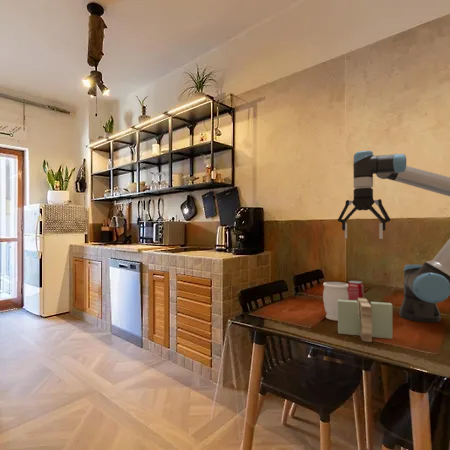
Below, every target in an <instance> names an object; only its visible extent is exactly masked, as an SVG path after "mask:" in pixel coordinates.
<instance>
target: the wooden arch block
mask: <svg viewBox="0 0 450 450" xmlns="http://www.w3.org/2000/svg"><path fill="white" fill-rule="evenodd" d="M357 302H358V317H360V320H361V336H360V339H361V341H362V342H367V343H372V342H373V341H372V340H373V337H372V307H371V305H370V303H369V300H368V299H367V298H366V297H364V298H358V297H357Z"/></svg>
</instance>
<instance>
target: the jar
mask: <svg viewBox="0 0 450 450" xmlns="http://www.w3.org/2000/svg"><path fill="white" fill-rule="evenodd" d="M322 285H323V286H322V287H323V291H322V299H323V307H324V311H325V313H326V314H325V318H326V319H328V320H331V321H337V322H338V299H340V300H349V296H348V283H346V282H341V281H325V282H323V284H322Z"/></svg>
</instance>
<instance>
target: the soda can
mask: <svg viewBox="0 0 450 450" xmlns="http://www.w3.org/2000/svg"><path fill="white" fill-rule="evenodd" d="M347 284H348V288H347V290H348V296H349V300H355V301H357V297H358V298H365V291H364V290H365V288H364V284H363V281H361V280H360V281H359V280H349V281H348V283H347Z"/></svg>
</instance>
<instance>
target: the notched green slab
mask: <svg viewBox="0 0 450 450" xmlns="http://www.w3.org/2000/svg"><path fill="white" fill-rule="evenodd" d="M369 304H370V305H371V307H372V338H380V339H388V340H389V339H391V340H393V303H391V302H380V301H370V303H369ZM337 334H340V335H349V336H350V335H351V336H360V337H361V320H360V317H358V302H357V301H355V300H340V299H338V321H337Z"/></svg>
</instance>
